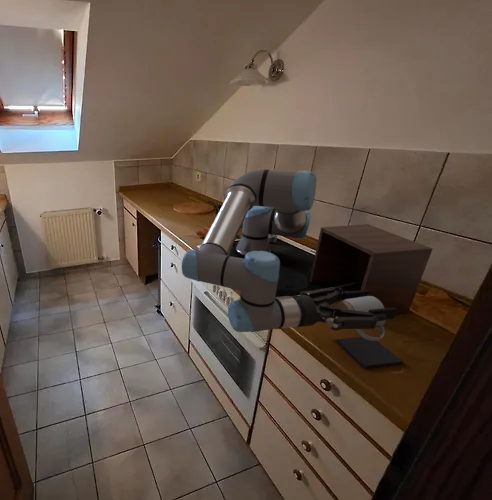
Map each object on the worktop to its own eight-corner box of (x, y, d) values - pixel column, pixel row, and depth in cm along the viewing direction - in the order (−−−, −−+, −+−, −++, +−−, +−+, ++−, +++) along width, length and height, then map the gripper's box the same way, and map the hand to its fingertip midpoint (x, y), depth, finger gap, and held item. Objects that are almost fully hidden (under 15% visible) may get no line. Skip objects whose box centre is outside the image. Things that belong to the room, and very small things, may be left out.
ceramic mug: (330, 317, 80) (337, 292, 76) (359, 314, 80) (366, 290, 77) (360, 344, 70) (370, 317, 67) (393, 341, 71) (403, 314, 67)
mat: (336, 341, 84) (337, 339, 83) (369, 338, 85) (370, 335, 84) (365, 368, 75) (366, 365, 74) (401, 363, 75) (402, 361, 75)
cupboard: (309, 281, 115) (320, 227, 106) (352, 278, 117) (367, 224, 108) (355, 317, 93) (375, 253, 85) (408, 312, 95) (432, 248, 86)
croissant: (229, 238, 170) (228, 224, 170) (238, 235, 160) (236, 221, 160) (194, 241, 166) (192, 227, 167) (200, 238, 156) (199, 223, 157)
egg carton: (255, 236, 162) (256, 229, 160) (269, 235, 162) (270, 228, 160) (263, 243, 152) (264, 236, 150) (278, 242, 152) (279, 235, 151)
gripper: (269, 301, 83) (345, 295, 85) (317, 352, 65) (413, 342, 67) (273, 278, 80) (352, 271, 82) (324, 324, 62) (424, 314, 64)
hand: (379, 303), depth 74 cm, fingers closed on ceramic mug, 7 cm apart
